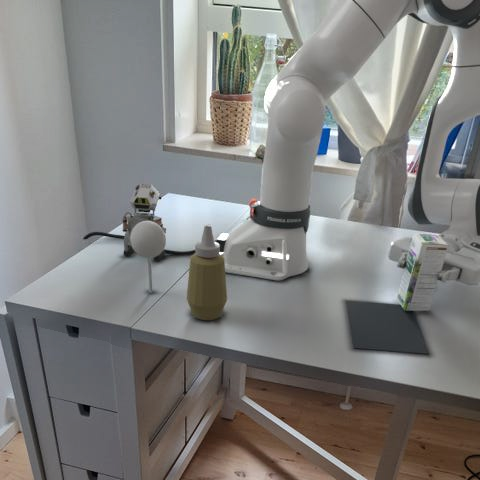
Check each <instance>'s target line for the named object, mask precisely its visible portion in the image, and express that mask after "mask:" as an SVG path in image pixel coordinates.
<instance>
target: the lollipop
mask: <svg viewBox="0 0 480 480" xmlns="http://www.w3.org/2000/svg"><path fill="white" fill-rule="evenodd" d="M166 237H167V236H166V233H164V231H163V229H162V228H161V227H160V226H159V225H158V224H157V223H155V222H152V221H142V222H140V223H138V224H137V225H136V226H135V227H134V228H133V229H132V232H131V235H130V241H131V245H132V248H133V249H134V253H136V254H137V255H139V257H142V258H145V259H147V275H148V292H149V294H153V273H152V258H153V259H154V257H156V256H158V255H159V254H160V253H161V252H162V251H163V249H165V247H166V244H167V238H166Z"/></svg>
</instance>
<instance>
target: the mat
mask: <svg viewBox="0 0 480 480" xmlns="http://www.w3.org/2000/svg"><path fill="white" fill-rule="evenodd" d="M345 303H346V309H347V314H348V315H347V316H348V321H349V327H350V335H351V340H352V345H353V349H355V350H367V351H377V352H378V351H379V352H389V353H391V352H393V353H403V354H404V353H405V354H416V355H429V351H428V348H427V345H426V342H425V339H424V337H423V334H422V331H421V329H420V327H419V323H418V320H417V318H416V315H415V313H414V312H415V311H404V309H403V308H402V306H401V305H400V304H397V303H383V302H372V301H371V302H370V301H358V300H345Z"/></svg>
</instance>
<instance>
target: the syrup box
mask: <svg viewBox="0 0 480 480" xmlns="http://www.w3.org/2000/svg"><path fill="white" fill-rule="evenodd" d="M411 238H412V242H411V246H410V249H409V253H408V257H407V261H406V265H405V268H404V269H403V273H402V276H401V282H400V285H399V289H398V293H397V297H396V300H397V302H398V303H399V305H401V306H402V308H403V309H404V311H413V312H425V311H426V312H428V311H430V310H431V307H432V304H433V300H434V297H435V293H436V291H437V287H438V283H439V280H437V278H438V277H439V276H438V275H439V272H440V271H441V270H442V267H443V263H444V260H445V256H446V253H447V249H448V244H446V242H445V241H444V240H443V239H442V238H441V237H440V236H439V234H434V233H424V232H423V233H413V234H412V237H411Z"/></svg>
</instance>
